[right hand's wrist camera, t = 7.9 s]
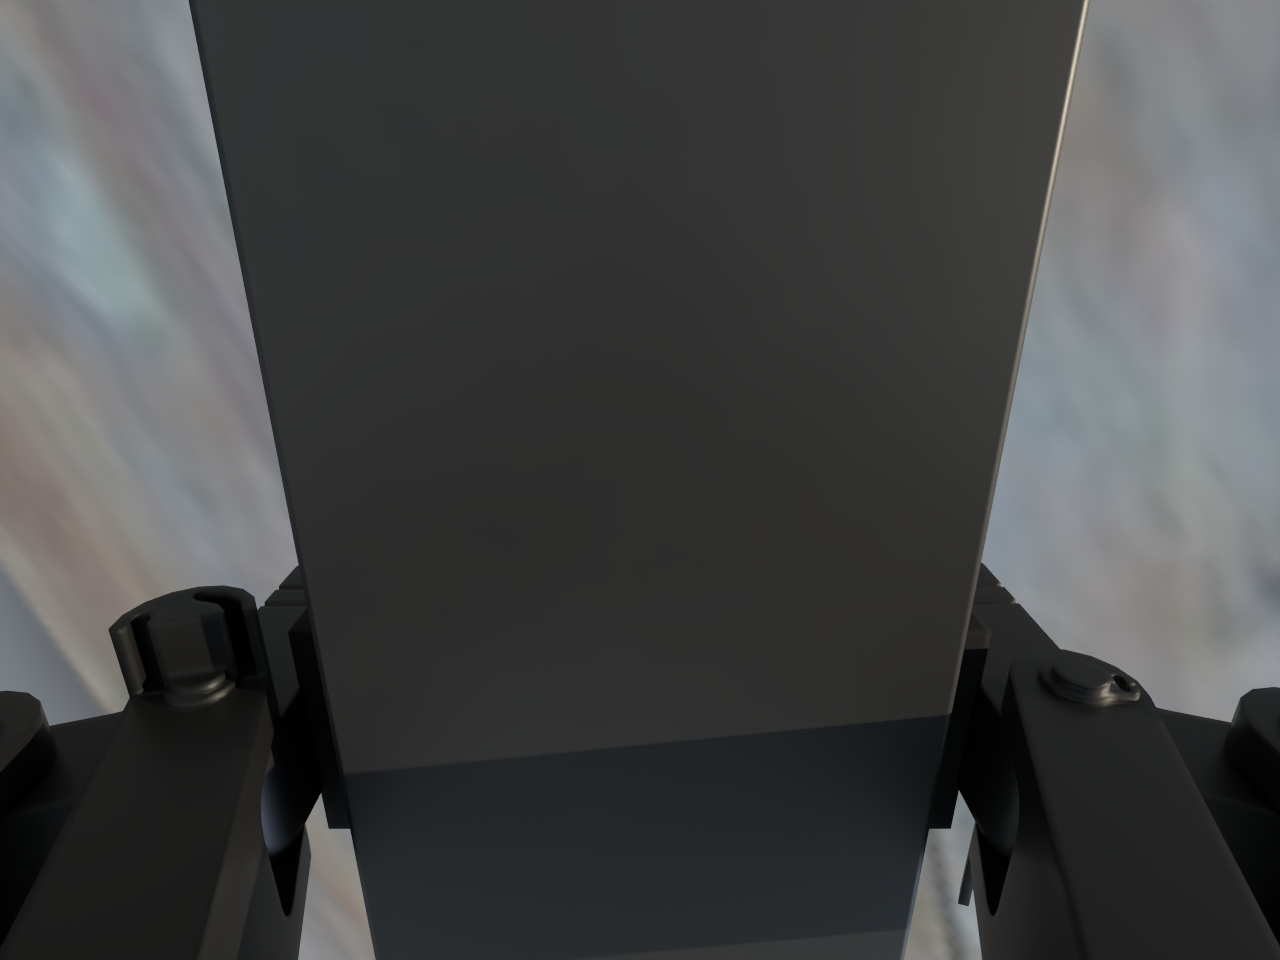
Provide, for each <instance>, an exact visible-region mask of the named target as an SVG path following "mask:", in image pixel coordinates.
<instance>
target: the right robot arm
mask: <svg viewBox="0 0 1280 960" xmlns="http://www.w3.org/2000/svg"><path fill="white" fill-rule="evenodd" d="M108 630H109V633H110V636H111V639H112V642H113V645H114V649H115V652H116V655H117V658H118V661H119V664H120V668H121V671H122V674H123V677H124V680H125V683H126V687H127V690H128V693H129V696H130V699H129V700H128V702H127V704H126V706H125V708H124V710H123V711H121V712H117V713H113V714H108V715H103V716H98V717H93V718H88V719H83V720H78V721H73V722H68V723H62V724H57V725H52V726H49V724H48V721H47V719H46V716H45V713H44V711H43V708H42V705H41V702H40V701H39V700H38V699H36V698H35V697H33V696H32V695H30V694H29V693H24V692H14V691H0V960H298V955H299V947H300V939H301V931H302V923H303V916H304V908H305V900H306V892H307V884H308V876H309V868H310V861H311V851H310V844H309V838H308V834H307V830H306V825H305V822H306V820H307V818H308V817H309V815H310V813H311V811H312V809H313V807H314V805H315V803H316V801H317V799H318V797H319V795H320V794H322V798H323V803H324V808H325V813H326V817H327V822H328V827H329V829H350V825H349V820H348V815H347V810H346V804H345V799H344V794H343V789H342V784H341V779H340V774H339V769H338V763H337V758H336V753H335V748H334V743H333V738H332V733H331V728H330V722H329V717H328V712H327V707H326V702H325V697H324V692H323V687H322V681H321V676H320V671H319V666H318V661H317V656H316V651H315V646H314V640H313V635H312V630H311V625H310V620H309V615H308V610H307V604H306V599H305V594H304V589H303V584H302V579H301V574H300V569H299V565H298V566H297V567H296V568H295V569H294V570H293V571H292V572H291V573H290V574H289V576H288V577H287V578H286V579H285V580H284V581H283V582H282V583H281V584H280V586H279V590H275V591H274V592H273V593H272V595H271V596H270V597H269V598H268V599H267V600H266V601H265V606H261V607H260V608H259V609H258V610H257V607H256V603H255V598H254V596H252V595H251V594H249V593H248V592H247V591H245V590H244V589H240V588H235V587H229V586H204V587H195V588H191V589H186V590H181V591H176V592H172V593H169V594H166V595H163V596H161V597H158V598H155V599H153V600H150V601H147V602H145V603H143V604H141V605H139V606H138V607H136V608H134V609H132V610H131V611H129V612H127V613H125V614H124V615H122V616H121V617H120V618H119V619H118V620H117V621H116V622H115V623H114V624H113V625H112V626H111V627H110V628H109V629H108ZM958 791H960V793H961V794H962V796H963V798H964V800H965V802H966V804H967V806H968V808H969V810H970V812H971V814H972V815H973V817H974V819H975V825H974V830H973V834H972V838H971V843H970V847H969V852H968V856H967V861H966V865H965V870H964V874H963V878H962V883H961V887H960V894H959V900H958V904H962V905H966V906H969V902H970V897H971V893H972V890H974V898H975V906H976V914H977V921H978V929H979V937H980V945H981V953H982V960H1280V688H1277V687H1270V688H1261V689H1252V690H1251V691H1249V692H1248V693H1246V694H1245V695H1244V696H1242V697H1241V698H1240V701H1239V703H1238V706H1237V709H1236V711H1235V714H1234V717H1233V719H1232V722H1231V723H1230V722H1225V721H1220V720H1215V719H1210V718H1204V717H1199V716H1194V715H1189V714H1184V713H1179V712H1174V711H1168V710H1164V709H1160V708H1156V707H1155V705H1154V703H1153V701H1152V699H1151V697H1150V696H1149V695H1148V693H1147V692H1146V691H1145V690H1144V689H1143V687H1142V686H1141V685H1140V684H1139V683H1138V681H1136V680H1135V679H1133V678H1132V677H1130V676H1129V675H1127V674H1126V673H1124V672H1123V671H1122V670H1120V669H1119V668H1117V667H1115V666H1113V665H1111V664H1108V663H1106V662H1104V661H1101V660H1099V659H1097V658H1094V657H1092V656H1089V655H1085V654H1080V653H1076V652H1072V651H1068V650H1062V649H1059V647H1058V646H1057V645H1056V644H1055V643H1054V642H1053V641H1052V640H1051V639H1050V637H1049V636H1048V635H1047V634H1046V633H1045V632H1044V631H1043V630H1042V629H1041V627H1040V626H1039V625H1038V624H1037V623H1036V622H1035V621H1034V620H1033V619H1032V617H1031V616H1030V615H1029V614H1028V613H1027V612H1026V611H1025V610H1024V609H1023V607H1022V606H1021V605H1020V604H1016V603H1015V599H1014V597H1013V596H1012V595H1011V594H1010V593H1009V592H1008V591H1007V590H1006V589H1005V587H1001V583H1000V582H999V581H998V580H997V578H996V577H995V576H994V575H993V574H992V573H991V572H990V571H989V570H988V568H987V567H986V566H985V565H984V564H982V563H981V564H980V569H979V575H978V580H977V585H976V590H975V595H974V600H973V605H972V610H971V616H970V621H969V626H968V631H967V636H966V641H965V646H964V652H963V657H962V662H961V667H960V672H959V677H958V682H957V688H956V693H955V698H954V703H953V708H952V713H951V718H950V724H949V729H948V734H947V739H946V744H945V749H944V754H943V759H942V765H941V770H940V775H939V780H938V785H937V790H936V795H935V801H934V806H933V811H932V816H931V821H930V826H929V829H951V824H952V820H953V815H954V810H955V805H956V801H957V796H958Z"/></svg>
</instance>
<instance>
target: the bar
mask: <svg viewBox="0 0 1280 960" xmlns="http://www.w3.org/2000/svg"><path fill="white" fill-rule="evenodd" d="M1089 4H1090V0H189V5H190V10H191V15H192V20H193V25H194V30H195V35H196V40H197V46H198V51H199V56H200V61H201V66H202V71H203V76H204V81H205V87H206V92H207V97H208V102H209V107H210V112H211V117H212V122H213V128H214V133H215V138H216V143H217V148H218V153H219V158H220V164H221V169H222V174H223V179H224V184H225V189H226V194H227V199H228V205H229V210H230V215H231V220H232V225H233V230H234V235H235V240H236V246H237V251H238V256H239V261H240V266H241V271H242V276H243V281H244V287H245V292H246V297H247V302H248V307H249V312H250V317H251V322H252V328H253V333H254V338H255V343H256V348H257V353H258V358H259V363H260V369H261V374H262V379H263V384H264V389H265V394H266V399H267V405H268V410H269V415H270V420H271V425H272V430H273V435H274V440H275V446H276V451H277V456H278V461H279V466H280V471H281V476H282V481H283V487H284V492H285V497H286V502H287V507H288V512H289V517H290V522H291V528H292V533H293V538H294V543H295V548H296V553H297V558H298V563H299V569H300V574H301V579H302V584H303V589H304V594H305V599H306V604H307V610H308V615H309V620H310V625H311V630H312V635H313V640H314V646H315V651H316V656H317V661H318V666H319V671H320V676H321V681H322V687H323V692H324V697H325V702H326V707H327V712H328V717H329V722H330V728H331V733H332V738H333V743H334V748H335V753H336V758H337V763H338V769H339V774H340V779H341V784H342V789H343V794H344V799H345V804H346V810H347V815H348V820H349V825H350V830H351V835H352V840H353V845H354V851H355V856H356V861H357V866H358V871H359V876H360V881H361V886H362V892H363V897H364V902H365V907H366V912H367V917H368V922H369V928H370V933H371V938H372V943H373V948H374V953H375V958H376V960H904V955H905V950H906V944H907V939H908V934H909V929H910V924H911V919H912V914H913V909H914V903H915V898H916V893H917V888H918V883H919V878H920V873H921V867H922V862H923V857H924V852H925V847H926V842H927V837H928V831H929V826H930V821H931V816H932V811H933V806H934V801H935V795H936V790H937V785H938V780H939V775H940V770H941V765H942V759H943V754H944V749H945V744H946V739H947V734H948V729H949V724H950V718H951V713H952V708H953V703H954V698H955V693H956V688H957V682H958V677H959V672H960V667H961V662H962V657H963V652H964V646H965V641H966V636H967V631H968V626H969V621H970V616H971V610H972V605H973V600H974V595H975V590H976V585H977V580H978V575H979V569H980V564H981V559H982V554H983V549H984V544H985V539H986V533H987V528H988V523H989V518H990V513H991V508H992V503H993V497H994V492H995V487H996V482H997V477H998V472H999V467H1000V461H1001V456H1002V451H1003V446H1004V441H1005V436H1006V431H1007V425H1008V420H1009V415H1010V410H1011V405H1012V400H1013V395H1014V390H1015V384H1016V379H1017V374H1018V369H1019V364H1020V359H1021V354H1022V348H1023V343H1024V338H1025V333H1026V328H1027V323H1028V318H1029V312H1030V307H1031V302H1032V297H1033V292H1034V287H1035V282H1036V276H1037V271H1038V266H1039V261H1040V256H1041V251H1042V246H1043V240H1044V235H1045V230H1046V225H1047V220H1048V215H1049V210H1050V205H1051V199H1052V194H1053V189H1054V184H1055V179H1056V174H1057V169H1058V163H1059V158H1060V153H1061V148H1062V143H1063V138H1064V133H1065V127H1066V122H1067V117H1068V112H1069V107H1070V102H1071V97H1072V91H1073V86H1074V81H1075V76H1076V71H1077V66H1078V61H1079V56H1080V50H1081V45H1082V40H1083V35H1084V30H1085V25H1086V20H1087V14H1088V9H1089Z"/></svg>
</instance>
